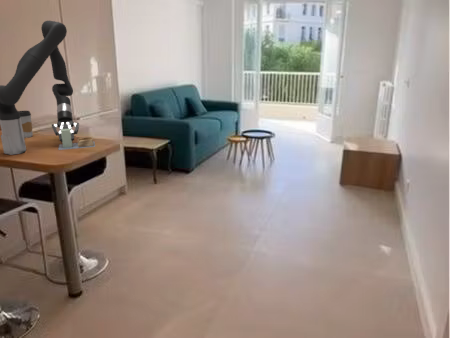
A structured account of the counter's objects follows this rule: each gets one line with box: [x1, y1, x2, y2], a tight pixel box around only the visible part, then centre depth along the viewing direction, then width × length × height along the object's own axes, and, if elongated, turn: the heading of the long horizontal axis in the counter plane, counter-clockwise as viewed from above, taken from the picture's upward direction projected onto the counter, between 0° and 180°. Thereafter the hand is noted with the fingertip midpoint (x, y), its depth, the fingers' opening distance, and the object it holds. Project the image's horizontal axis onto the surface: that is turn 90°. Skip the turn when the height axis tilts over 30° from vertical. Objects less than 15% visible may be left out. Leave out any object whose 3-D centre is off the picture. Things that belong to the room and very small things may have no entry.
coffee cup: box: [17, 110, 34, 139], centre depth 219 cm, size 8×8×15 cm
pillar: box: [61, 129, 73, 148], centre depth 195 cm, size 4×4×9 cm
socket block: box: [77, 136, 94, 147], centre depth 199 cm, size 8×8×3 cm
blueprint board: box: [58, 140, 96, 151], centre depth 198 cm, size 18×12×1 cm, turn 110°
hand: (67, 140), depth 193 cm, fingers closed on pillar, 4 cm apart
